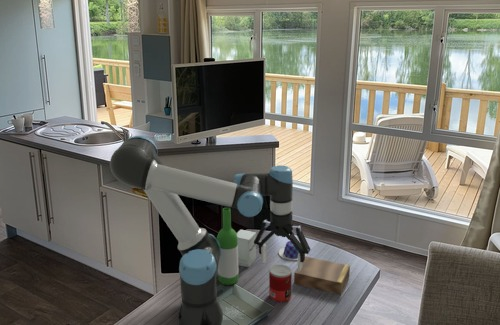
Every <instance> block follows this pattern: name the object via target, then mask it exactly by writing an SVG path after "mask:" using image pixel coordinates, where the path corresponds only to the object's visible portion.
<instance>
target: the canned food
mask: <svg viewBox="0 0 500 325" xmlns="http://www.w3.org/2000/svg"><path fill="white" fill-rule="evenodd" d="M292 271H293V270H292V268H291V267H289V266H288V265H285V264H274V265H272V266H271V267H269V272H268V273H269V274H268V275H269V276H268V279H269V284H268V287H269V288H268V289H269V290H268V291H269V297H270V299H271V300H272V301H273V302H277V303H285V302H288V301H289V300H290V299H291V298H292V284H293V283H292V279H293V278H292V277H293V275H292V274H293V272H292Z"/></svg>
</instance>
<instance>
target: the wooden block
mask: <svg viewBox="0 0 500 325" xmlns="http://www.w3.org/2000/svg"><path fill="white" fill-rule="evenodd" d="M350 271H351V265H350V264H346V263H345V264H343V263H339V262H333V261H329V260H324V259H319V258H314V257H310V256H305V260H304V262H302V269H301V270H300V271H298V267H296V269H295V271H294V273H293V274H294V275H293V277H294V279H293V281H294V282H293V285H296V286H300V287H301V286H302V287H305V288H309V289H314V290H318V291H322V292H326V293H330V294H335V295H338V296H342V294H343V292H344V290H345V287H346V286H347V284H348V281H349V279H350V273H351V272H350Z"/></svg>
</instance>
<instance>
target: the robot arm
mask: <svg viewBox="0 0 500 325" xmlns="http://www.w3.org/2000/svg"><path fill="white" fill-rule="evenodd" d="M158 155H159V152H158V148H157V145H156V143H155V142H154V141H153V140H152V139H151V138H149V137H147V136H144V135H133V136H132V137H129V138H127V139H126V140H125V141H123V142H122V143H121V145H120V146H119V147H118V148H117V149H116V150H115V151H114V152H113V154H112V155H111V157H110V161H109V169H110V170H111V173H112V175H113V177H115V179H116V180H117V181H119V182H120V183H122V184H124V185H126V186H129V187H131V188H132V187H133V188H135V189H139V190H142V191H143V192H144V193H145V194H146V196H147V197H148V199H149V201H150V202H151V203H152V205H153V206H154V207H155V209H156V211H157V212H158V213H159V215H160V216H161V218H162V219H163V221H164V222H165V223H166V225H167V227H168V228H169V229H170V231H171V232H172V234H173V235H174V237H175V238H176V240H177V242H178V244H177V250H178V251H179V252H180V254H181V256H182V257H180V260H179V267H178V271H179V278H180V279H179V282H180V294H181V302H180V306H179V309H178V312H177V324H178V325H221V324H222V323H223V320H224V317H223V316H224V313H223V308H222V307H221V305H220V302H219V300H218V292H217V291H218V289H217V275H218V264H219V259H220V255H221V249H220V244H219V242H218V240H217V236H215V235H214V234H212V233H209V232H208V231H207V229H206V228H203V227H199V224H198V223H197V222H196V220H195V219H194V217H193V216H192V214H191V212H190V211H189V210H188V208H187V207H186V205H185V204H184V202H183V201H182V199H181V198H180V196H182V197H186V198H191V199H196V200H200V201H205V202H208V203H211V204H216V205H220V206H224V207H227V208H233V209H235V210H238V212H239V213H240V214H241V215H242V216H244V217H247V218H252V217H255V216H257V215H258V214H259V213H261V211H262V208H263V204H264V198H263V197H266V196H270V197H269V202H270V203H269V208H270V211H269V212H270V213H269V214H270V216H269V217H270V221H268V219H264V220H263V221H262V222H261V227H260V229H259V231H258V233H257V234H256V238H255V240H254V244H256V246H258V253H259V255H261V257H260V258H261V260H260V262H261V264H262V265H264V264H265V263H266V262H267V244H266V242H267V241H268V240H269V239H270V238H271V237H273V235H275V236H276V237H281V238H287V240H288V241H291V243H292V244H293V245H294V246H295V248H296V249H297V250H298V252H299V253H298V260H297V268H298V271H300V270H301V269H302V262H304V260H305V254H307V255H308V254H309V253H310V251H311V250H312V249H311V247H310V245H309V243H308V241H307V239H306V236H305V234H304V233H303V229H302V228H303V227H302V225H301V224H298V225H294V224H293V184H294V182H293V170H292V168H291V167H289V166H287V165H282V164H280V165H274V166H272V167H270V169H269V171H268V172H266V173H265V172H264V173H263V172H262V173H253V172H252V173H247V172H244V173H236V174H235V175H234V177H233V182H231V181H227V180H223V179H219V178H215V177H211V176H207V175H203V174H199V173H195V172H191V171H187V170H183V169H179V168H175V167H170V166H168V165H164V164H163V162H162V160H161V158H160V157H159V156H158ZM268 227H269V228H270V229H271V230H270V232H269V233H267V235H266V236H265V237H264V238H263V239H261V238H262V236H263V234H264V233H265V231H266V229H267V228H268ZM293 231H294V232H293Z"/></svg>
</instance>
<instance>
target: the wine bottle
mask: <svg viewBox="0 0 500 325" xmlns="http://www.w3.org/2000/svg"><path fill="white" fill-rule="evenodd" d="M231 211H232V210H231V207H228V206H225V207H224V208H222V228H221V229H220V230H219V231H218V232H217V233H218V234H217V236H216V239H217V240H218V242H219V244H220V249H221V255H220V259H219V264H218V269H217V275H218V281H219V283H220V284H223V285H225V286H227V285H228V286H231V285H234V284H236V283H237V282H238V280H239V278H240V277H239V265H238V237H237V232H236V231H235V229H233V227H232V214H231V213H232V212H231ZM233 283H234V284H233ZM230 284H231V285H230Z"/></svg>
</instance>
